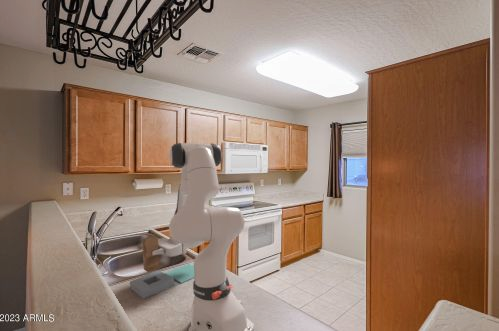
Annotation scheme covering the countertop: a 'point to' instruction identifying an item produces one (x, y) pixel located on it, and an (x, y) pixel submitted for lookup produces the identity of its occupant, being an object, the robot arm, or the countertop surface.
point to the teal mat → (182, 273)
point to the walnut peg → (148, 259)
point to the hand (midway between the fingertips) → (148, 251)
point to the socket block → (151, 284)
